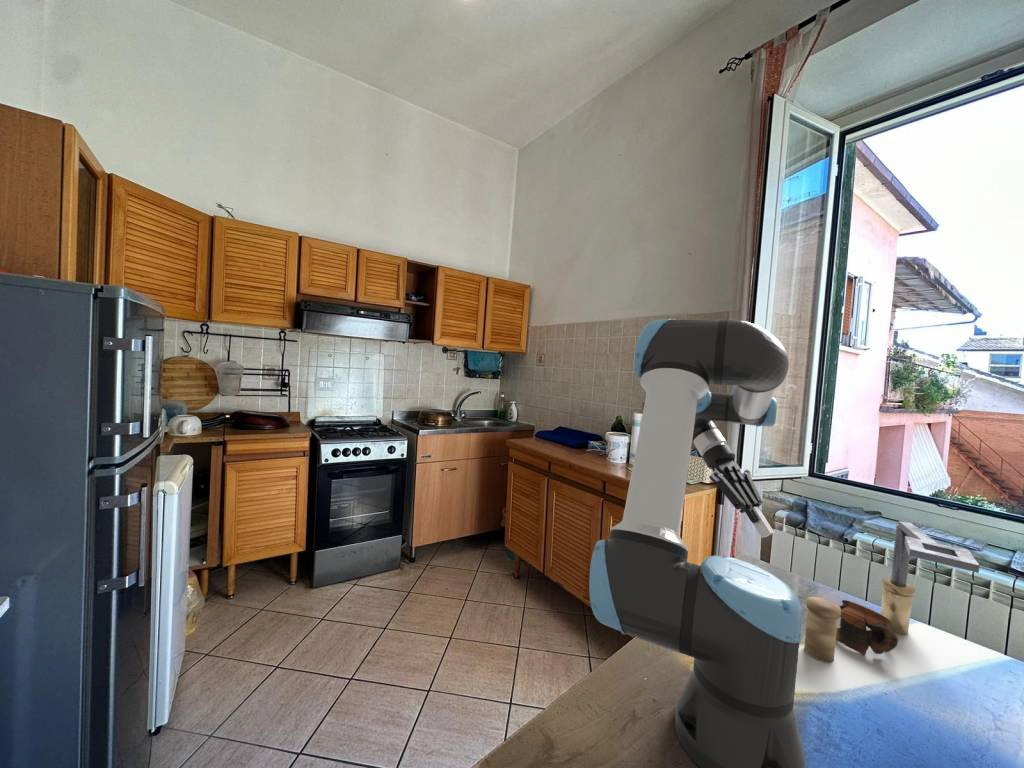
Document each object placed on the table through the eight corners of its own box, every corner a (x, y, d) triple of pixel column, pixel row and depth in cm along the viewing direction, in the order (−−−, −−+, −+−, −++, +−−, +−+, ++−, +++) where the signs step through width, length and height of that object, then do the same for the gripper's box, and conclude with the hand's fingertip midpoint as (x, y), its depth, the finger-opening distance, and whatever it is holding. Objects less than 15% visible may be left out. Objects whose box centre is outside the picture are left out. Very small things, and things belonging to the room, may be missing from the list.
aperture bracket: (882, 671, 73) (896, 545, 72) (877, 617, 90) (887, 515, 89) (963, 701, 67) (979, 565, 66) (941, 638, 84) (953, 529, 83)
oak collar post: (800, 653, 76) (805, 604, 76) (803, 640, 80) (808, 593, 80) (835, 667, 73) (840, 615, 73) (836, 653, 77) (841, 604, 77)
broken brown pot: (814, 630, 85) (826, 591, 87) (854, 654, 85) (866, 614, 87) (870, 655, 73) (883, 609, 75) (917, 683, 73) (929, 636, 75)
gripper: (722, 457, 119) (774, 538, 104) (688, 458, 114) (737, 544, 99) (740, 442, 114) (798, 525, 99) (706, 442, 108) (761, 531, 94)
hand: (768, 534), depth 99 cm, fingers closed
